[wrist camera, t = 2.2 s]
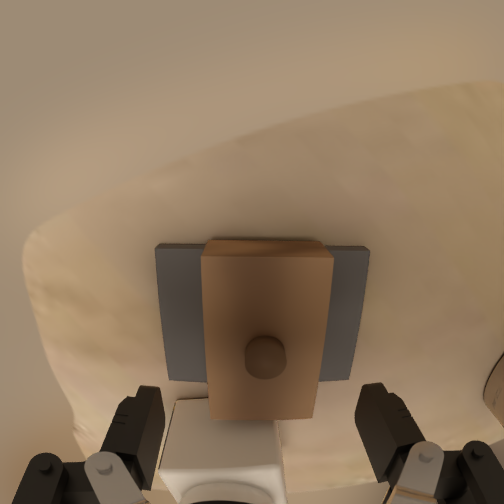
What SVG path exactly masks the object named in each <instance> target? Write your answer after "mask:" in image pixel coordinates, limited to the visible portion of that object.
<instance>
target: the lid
mask: <svg viewBox="0 0 504 504" xmlns="http://www.w3.org/2000/svg"><path fill="white" fill-rule="evenodd" d="M333 264H334V257H333V256H332V255H331V253H330V252H329V251H328V250H327V249H326V248H325V247H324V245H323V244H322V243H321V242H320V241H257V240H208V242H207V244H206V246H205V248H204V250H203V253H202V255H201V277H202V301H203V322H204V340H205V356H206V371H207V384H208V397H209V409H210V419H216V420H289V419H308V418H312V416H313V410H314V405H315V399H316V393H317V387H318V381H319V375H320V369H321V362H322V355H323V349H324V341H325V334H326V327H327V319H328V311H329V302H330V293H331V284H332V274H333Z"/></svg>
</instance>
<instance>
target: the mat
mask: <svg viewBox="0 0 504 504" xmlns="http://www.w3.org/2000/svg"><path fill="white" fill-rule="evenodd" d="M205 246H206V244H159V245H158V246H157V247H156V248H155V258H156V272H157V284H158V295H159V305H160V315H161V324H162V332H163V340H164V348H165V356H166V363H167V370H168V376H169V380H174V381H189V382H207V371H206V356H205V340H204V322H203V301H202V277H201V255H202V253H203V250H204V248H205ZM324 247H325V248H326V249H327V250H328V251H329V252H330V253H331V255H332V256H333V257H334V264H333V274H332V284H331V293H330V302H329V311H328V319H327V327H326V334H325V341H324V349H323V355H322V362H321V369H320V375H319V381H318V382H322V381H337V380H349V376H350V372H351V367H352V362H353V357H354V352H355V347H356V342H357V336H358V331H359V325H360V319H361V313H362V307H363V301H364V294H365V287H366V280H367V273H368V265H369V256H370V251H369V250H368V249H367V248H366V247H364V246H324Z"/></svg>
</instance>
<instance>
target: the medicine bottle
mask: <svg viewBox="0 0 504 504" xmlns="http://www.w3.org/2000/svg"><path fill="white" fill-rule="evenodd" d="M158 473H159V475H160V477H161V479H162V480H163V482H164V483H165V485H166V486H167V488H168V489H169V491H170V492H171V494H172V495H173V497H174V498H175V500H176V501H177V503H178V504H288V501H287V492H286V483H285V474H284V465H283V456H282V448H281V442H280V436H279V429H278V423H277V420H216V419H210V409H209V398H204V399H188V400H177V401H176V402H175V405H174V409H173V413H172V417H171V420H170V424H169V428H168V432H167V436H166V440H165V444H164V448H163V452H162V456H161V460H160V464H159V468H158Z"/></svg>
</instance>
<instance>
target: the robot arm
mask: <svg viewBox="0 0 504 504" xmlns="http://www.w3.org/2000/svg"><path fill="white" fill-rule="evenodd" d="M484 402H485V404H486V406H487V407H488V408H489V409H490V411H491V412H492V413H493V414H494V416H495V417H496V418H497V419H498V421H499V422H500V423H501V424H502V426H503V427H504V356H503V357H502V359H501V360H500V361H499V363H498V364H497V366H496V367H495V369H494V371H493V372H492V374H491V376H490V378H489V380H488V382H487V385H486V388H485V392H484ZM355 423H356V426H357V429H358V432H359V434H360V437H361V439H362V442H363V444H364V447H365V449H366V452H367V455H368V457H369V460H370V462H371V465H372V468H373V470H374V473H375V476H376V478H377V481H378V483H381V482H385V481H388V482H389V485H390V486H389V488H388V490H387V492H386V494H385V497H384V499H383V501H382V503H381V504H436V499H437V502H438V504H504V470H503V468H502V466H501V464H500V463H499V461H498V460H497V458H496V456H495V455H494V453H493V451H492V450H491V448H490V447H489V446H488V445H487V444H486V443H484V442H481V441H471V442H468V443H467V444H466V445H465V446H464V447H463V449H462V450H460V451H443V450H442V449H441V447H440V446H438V445H437V444H435V443H433V442H429V441H426V440H425V438H424V436H423V434H422V433H421V431H420V429H419V427H418V426H417V424H416V422H415V421H414V419H413V417H411V414H410V412H409V410H407V407H406V405H405V404H404V402H403V400H402V399H401V398H399V397H398V396H397V395H396V394H394V393H388V392H387V390H386V388H385V387H384V385H383V384H382V383H381V382H380V383H372V384H364V385H363V386H362V389H361V392H360V396H359V399H358V403H357V406H356V410H355ZM164 428H165V412H164V407H163V402H162V396H161V391H160V388H159V387H154V386H143V385H141V386H140V387H139V389H138V391H137V394H136V397H129V396H127V397H126V398H125V399H124V400H123V401H122V402H121V403H120V404H119V405H118V408H117V410H116V413H115V415H114V417H113V420H112V423H111V425H110V427H109V430H108V432H107V434H106V437H105V439H104V442H103V444H102V447H101V449H100V451H99V452H97V453H95V454H93V455H91V456H90V457H89V458H88V459H87V460H86V461H84V462H67V463H62V461H61V460H60V458H59V457H58V456H56V455H54V454H51V453H41V454H38V455H36V456H34V457H33V458H32V459H31V461H30V462H29V464H28V467H27V469H26V471H25V473H24V476H23V478H22V480H21V482H20V485H19V487H18V490H17V492H16V495H15V497H14V499H13V502H12V504H150V503H149V502H148V501H147V500H146V499H145V498H144V496H143V494H142V493H141V491H142V489H143V490H149V491H150V490H151V486H152V481H153V477H154V472H155V468H156V463H157V459H158V454H159V450H160V445H161V441H162V437H163V433H164Z"/></svg>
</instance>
